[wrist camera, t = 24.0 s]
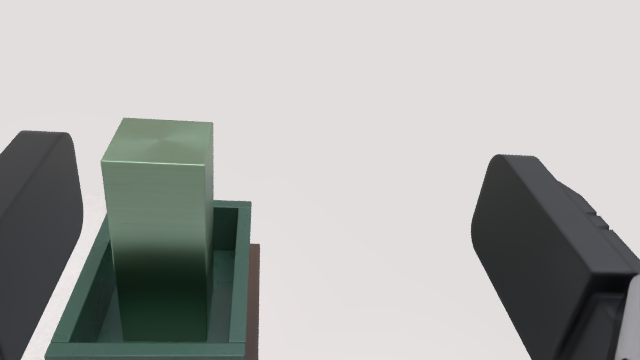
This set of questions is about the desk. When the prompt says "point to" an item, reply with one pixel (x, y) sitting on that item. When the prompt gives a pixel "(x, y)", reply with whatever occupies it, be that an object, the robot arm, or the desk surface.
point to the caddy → (159, 356)
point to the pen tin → (161, 227)
